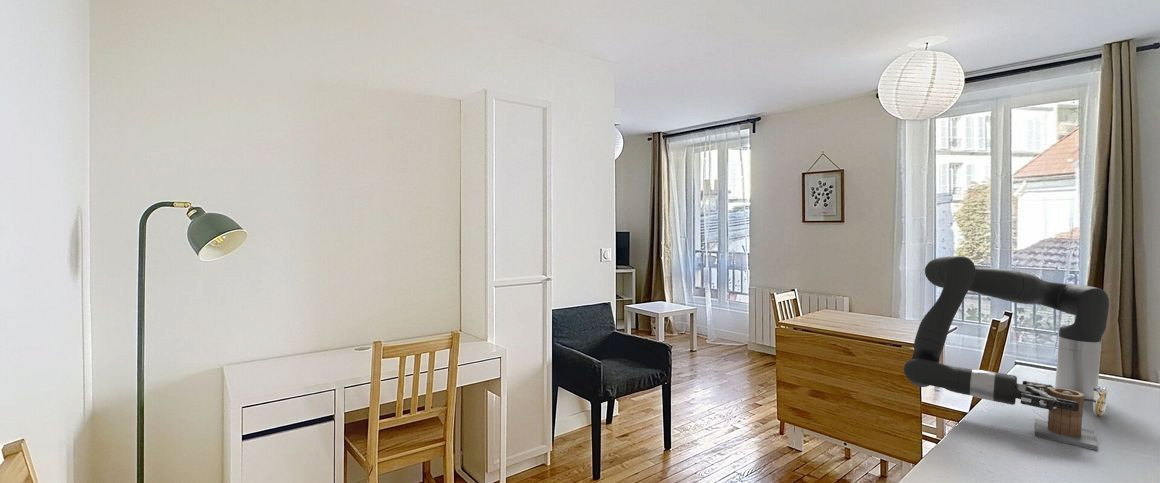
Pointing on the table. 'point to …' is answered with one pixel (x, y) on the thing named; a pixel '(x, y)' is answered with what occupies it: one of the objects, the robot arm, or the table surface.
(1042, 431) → the grey post stand
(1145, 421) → the table surface
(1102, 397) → the ring
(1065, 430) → the wooden slatted cup
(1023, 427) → the table surface
